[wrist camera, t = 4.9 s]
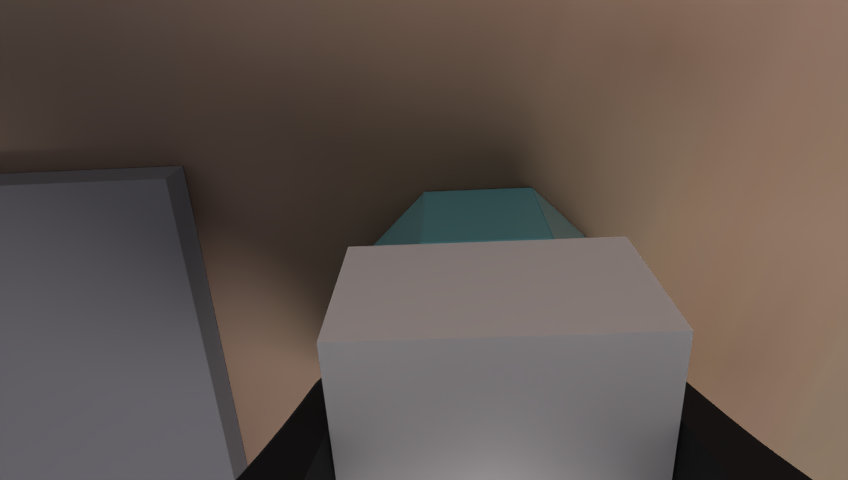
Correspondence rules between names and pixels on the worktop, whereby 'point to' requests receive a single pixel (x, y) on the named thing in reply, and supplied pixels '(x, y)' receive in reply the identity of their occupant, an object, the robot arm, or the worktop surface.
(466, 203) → the bowl
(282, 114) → the worktop surface
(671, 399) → the white block
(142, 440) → the mat
